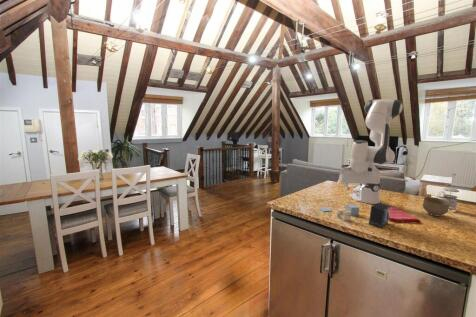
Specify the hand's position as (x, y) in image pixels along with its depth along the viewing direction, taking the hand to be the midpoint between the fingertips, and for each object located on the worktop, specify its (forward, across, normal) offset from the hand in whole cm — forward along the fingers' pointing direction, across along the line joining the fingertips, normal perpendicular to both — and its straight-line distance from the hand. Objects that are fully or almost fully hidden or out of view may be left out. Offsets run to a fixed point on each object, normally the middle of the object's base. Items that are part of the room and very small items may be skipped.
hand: (354, 190), depth 143 cm
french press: (+14, +71, +4) cm, 73 cm away
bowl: (+14, +53, -5) cm, 55 cm away
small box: (+15, +7, -15) cm, 22 cm away
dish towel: (+15, +26, -3) cm, 31 cm away
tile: (+15, -13, +7) cm, 22 cm away
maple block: (+15, -9, -7) cm, 19 cm away
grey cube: (+15, +1, 0) cm, 15 cm away
